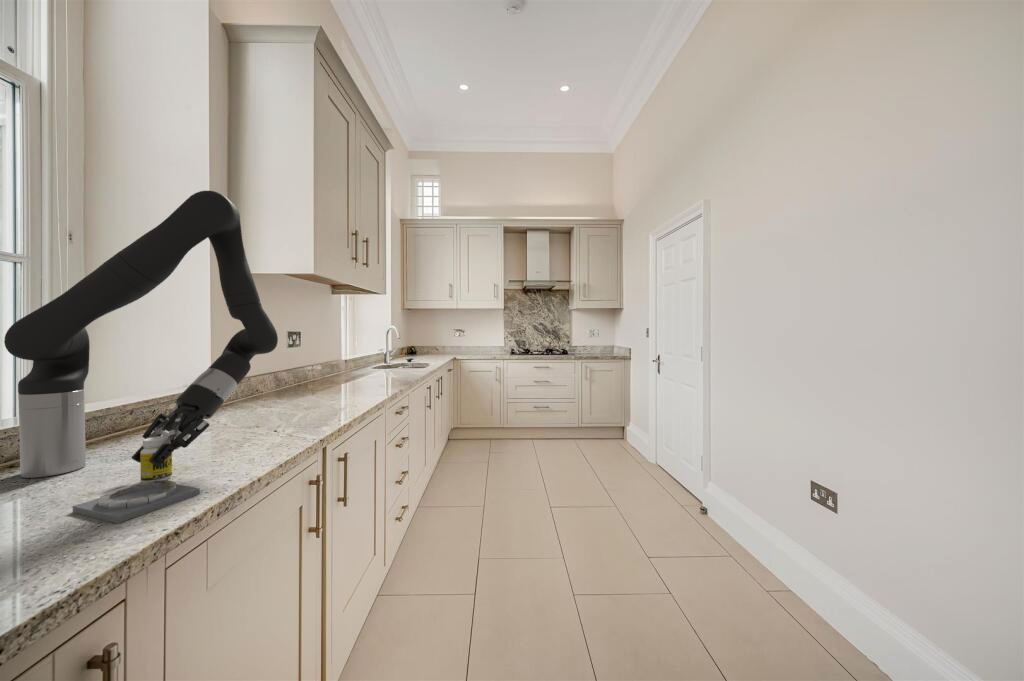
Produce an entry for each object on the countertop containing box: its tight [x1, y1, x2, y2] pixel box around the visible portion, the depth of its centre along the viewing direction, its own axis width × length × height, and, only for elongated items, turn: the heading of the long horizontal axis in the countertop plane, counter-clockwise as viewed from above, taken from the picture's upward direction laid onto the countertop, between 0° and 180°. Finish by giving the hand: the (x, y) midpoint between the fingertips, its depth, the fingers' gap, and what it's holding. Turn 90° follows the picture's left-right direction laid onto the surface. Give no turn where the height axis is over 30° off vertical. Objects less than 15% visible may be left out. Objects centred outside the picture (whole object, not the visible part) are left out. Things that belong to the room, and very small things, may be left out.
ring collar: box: [98, 479, 177, 510], centre depth 69 cm, size 10×10×1 cm
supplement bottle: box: [139, 435, 173, 483], centre depth 80 cm, size 5×5×8 cm
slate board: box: [72, 483, 201, 524], centre depth 69 cm, size 12×12×1 cm
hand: (145, 462), depth 78 cm, fingers closed on supplement bottle, 4 cm apart
